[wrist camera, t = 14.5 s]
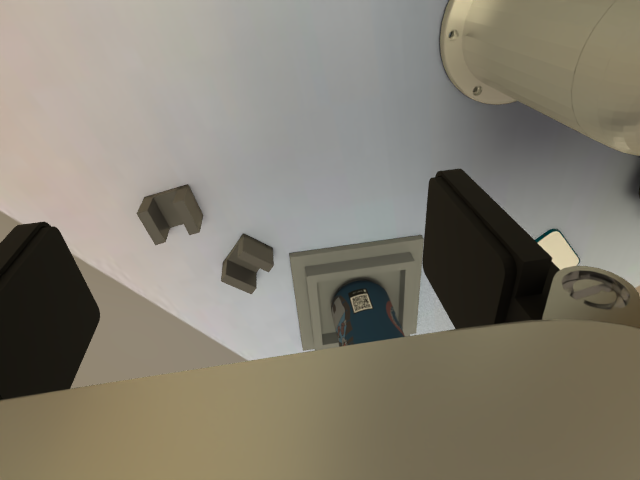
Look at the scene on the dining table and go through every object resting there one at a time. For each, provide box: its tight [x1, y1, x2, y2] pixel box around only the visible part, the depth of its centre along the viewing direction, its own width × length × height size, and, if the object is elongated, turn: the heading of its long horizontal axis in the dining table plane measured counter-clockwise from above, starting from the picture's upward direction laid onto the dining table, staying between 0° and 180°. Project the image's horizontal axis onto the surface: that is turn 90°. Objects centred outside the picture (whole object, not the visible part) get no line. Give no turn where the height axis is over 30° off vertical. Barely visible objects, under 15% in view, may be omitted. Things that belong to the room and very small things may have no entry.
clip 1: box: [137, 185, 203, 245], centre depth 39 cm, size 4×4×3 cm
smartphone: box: [535, 229, 580, 270], centre depth 53 cm, size 8×1×16 cm
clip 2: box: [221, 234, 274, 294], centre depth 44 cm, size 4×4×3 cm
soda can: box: [331, 280, 405, 347], centre depth 45 cm, size 7×7×12 cm
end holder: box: [289, 235, 424, 351], centre depth 49 cm, size 15×15×3 cm
